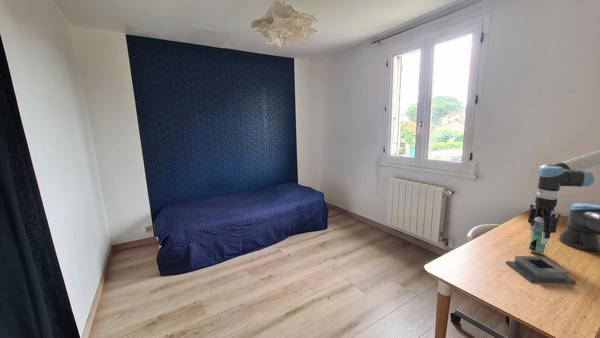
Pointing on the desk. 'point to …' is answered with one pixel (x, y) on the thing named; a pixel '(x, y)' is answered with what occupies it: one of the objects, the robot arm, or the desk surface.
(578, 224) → the robot arm
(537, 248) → the spray can
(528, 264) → the collar
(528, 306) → the desk surface
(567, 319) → the desk surface
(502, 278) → the desk surface
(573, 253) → the desk surface
